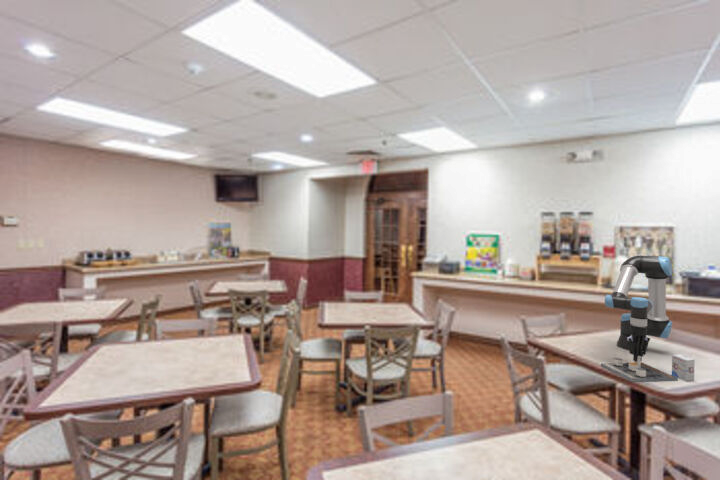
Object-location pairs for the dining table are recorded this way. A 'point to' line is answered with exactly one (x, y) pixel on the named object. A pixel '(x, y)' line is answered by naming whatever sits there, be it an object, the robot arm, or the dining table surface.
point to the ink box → (683, 367)
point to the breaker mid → (633, 366)
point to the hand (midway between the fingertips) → (637, 366)
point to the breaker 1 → (618, 362)
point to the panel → (630, 375)
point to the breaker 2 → (641, 372)
